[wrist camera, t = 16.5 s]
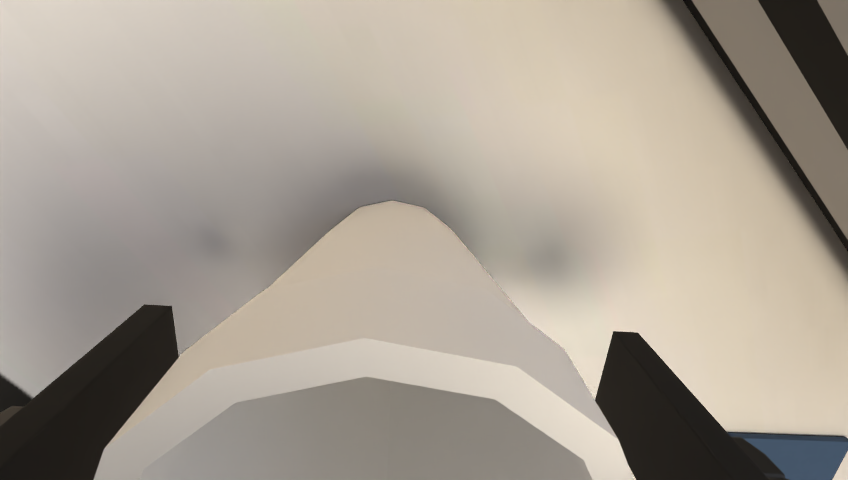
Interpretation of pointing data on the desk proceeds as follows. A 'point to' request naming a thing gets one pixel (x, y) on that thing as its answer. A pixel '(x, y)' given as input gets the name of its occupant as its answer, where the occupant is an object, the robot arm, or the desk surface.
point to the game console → (792, 83)
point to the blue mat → (801, 453)
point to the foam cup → (372, 376)
